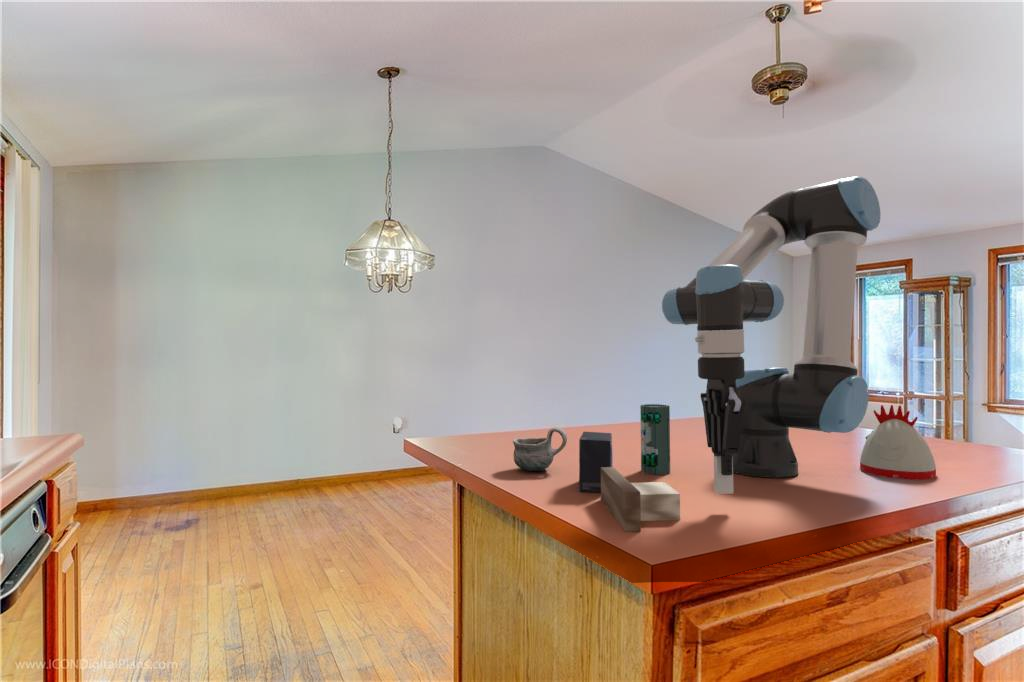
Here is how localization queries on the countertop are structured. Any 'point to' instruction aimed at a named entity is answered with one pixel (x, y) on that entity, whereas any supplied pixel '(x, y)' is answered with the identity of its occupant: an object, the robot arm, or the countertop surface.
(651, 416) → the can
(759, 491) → the countertop surface
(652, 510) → the maple block
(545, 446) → the mug
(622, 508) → the walnut board
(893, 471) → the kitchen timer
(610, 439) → the small box
